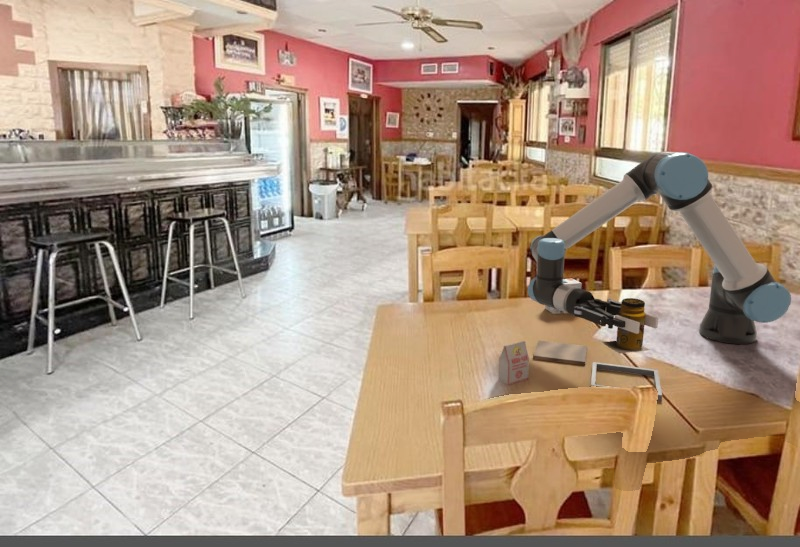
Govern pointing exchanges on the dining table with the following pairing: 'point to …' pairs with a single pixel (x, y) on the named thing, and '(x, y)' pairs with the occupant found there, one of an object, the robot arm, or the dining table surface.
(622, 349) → the yellow cylindrical jar
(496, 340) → the dining table surface
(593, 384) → the square collar
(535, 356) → the walnut board
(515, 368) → the white milk carton
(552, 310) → the light bulb box
